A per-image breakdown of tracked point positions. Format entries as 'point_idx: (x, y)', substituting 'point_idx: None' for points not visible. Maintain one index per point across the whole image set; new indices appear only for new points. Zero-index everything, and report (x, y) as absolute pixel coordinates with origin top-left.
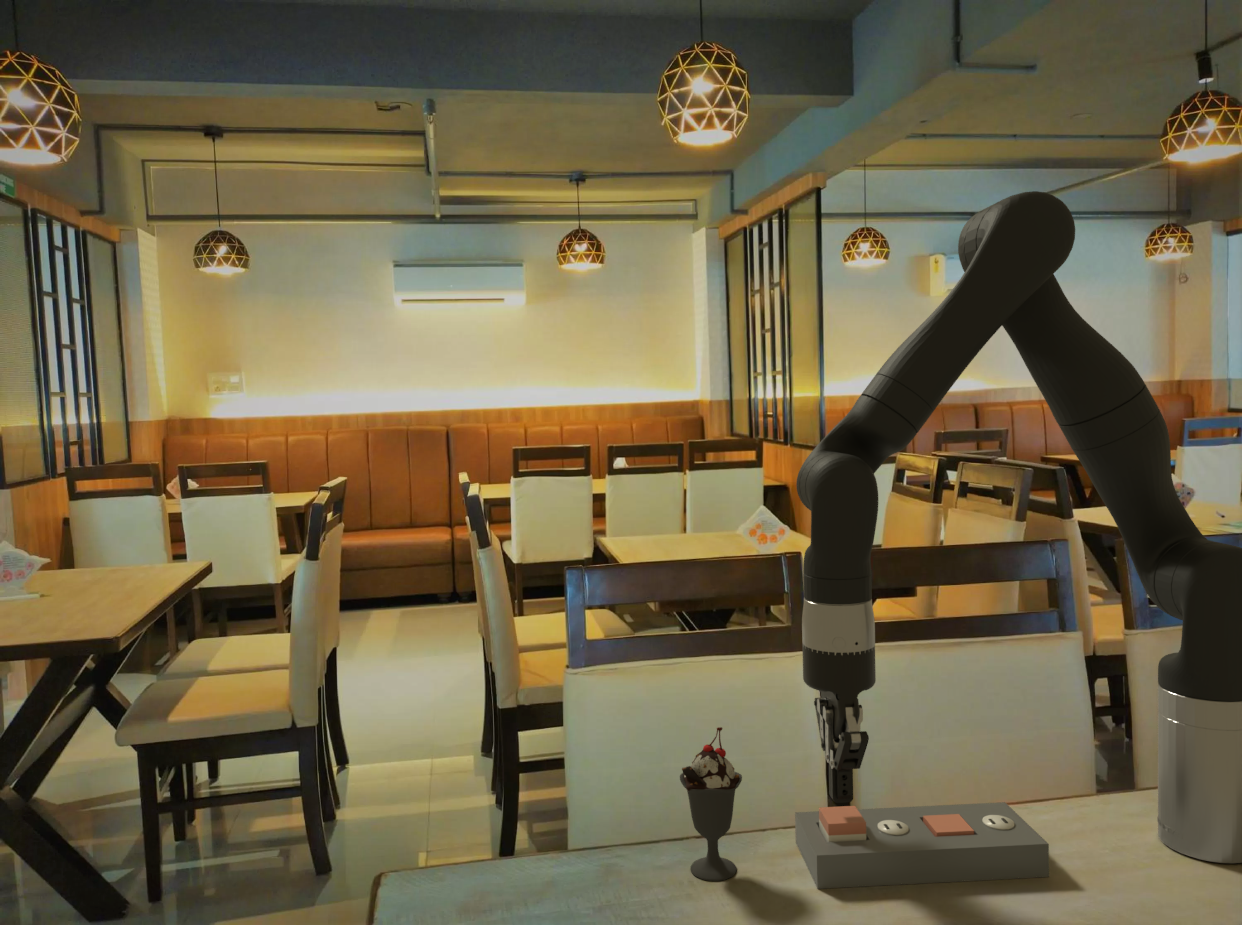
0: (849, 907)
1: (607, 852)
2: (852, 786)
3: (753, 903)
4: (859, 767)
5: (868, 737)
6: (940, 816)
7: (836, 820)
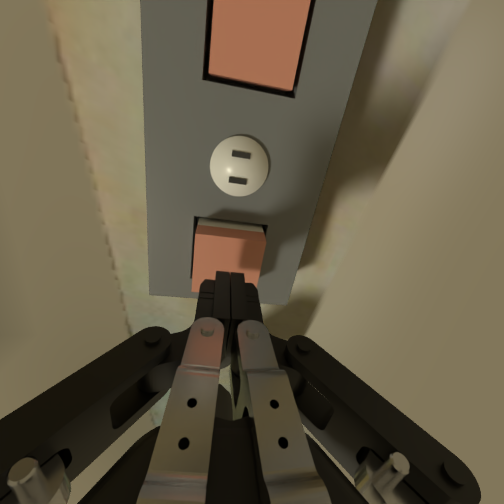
0: (325, 260)
1: (161, 414)
2: (245, 290)
3: (283, 335)
4: (313, 343)
5: (466, 475)
6: (220, 23)
7: (246, 282)
